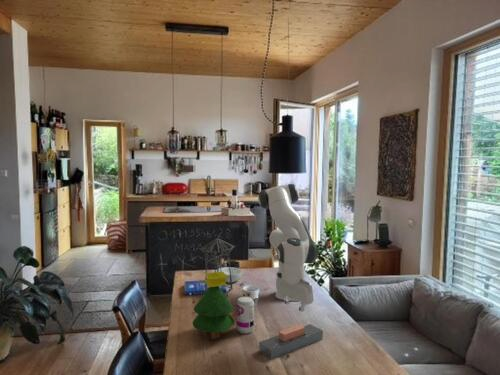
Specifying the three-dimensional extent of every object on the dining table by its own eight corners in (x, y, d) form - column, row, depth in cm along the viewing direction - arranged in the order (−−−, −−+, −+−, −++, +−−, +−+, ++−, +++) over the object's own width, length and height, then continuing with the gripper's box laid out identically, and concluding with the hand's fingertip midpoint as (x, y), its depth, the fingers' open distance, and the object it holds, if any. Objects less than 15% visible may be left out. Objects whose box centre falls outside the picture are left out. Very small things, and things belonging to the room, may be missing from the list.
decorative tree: (188, 329, 175) (188, 267, 172) (226, 323, 182) (227, 263, 180) (198, 349, 157) (198, 280, 155) (240, 341, 164) (240, 275, 162)
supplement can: (241, 335, 170) (241, 304, 168) (233, 328, 177) (234, 297, 176) (256, 331, 173) (257, 301, 172) (248, 324, 181) (249, 295, 179)
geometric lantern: (221, 304, 205) (220, 242, 202) (199, 299, 213) (198, 239, 210) (237, 295, 218) (236, 237, 215) (216, 290, 227) (214, 234, 224)
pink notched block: (299, 339, 167) (299, 324, 166) (304, 342, 164) (304, 327, 163) (278, 347, 160) (278, 331, 159) (283, 350, 157) (284, 334, 156)
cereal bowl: (241, 285, 236) (241, 274, 235) (215, 285, 236) (215, 274, 235) (242, 277, 252) (242, 266, 252) (218, 276, 253) (218, 266, 252)
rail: (309, 332, 174) (310, 324, 173) (322, 339, 167) (322, 330, 167) (259, 351, 156) (259, 342, 156) (270, 359, 150) (271, 350, 149)
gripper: (317, 281, 152) (316, 313, 154) (284, 269, 169) (284, 298, 170) (306, 284, 149) (305, 317, 150) (273, 271, 165) (273, 301, 167)
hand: (293, 307), depth 160 cm, fingers open, 8 cm apart
